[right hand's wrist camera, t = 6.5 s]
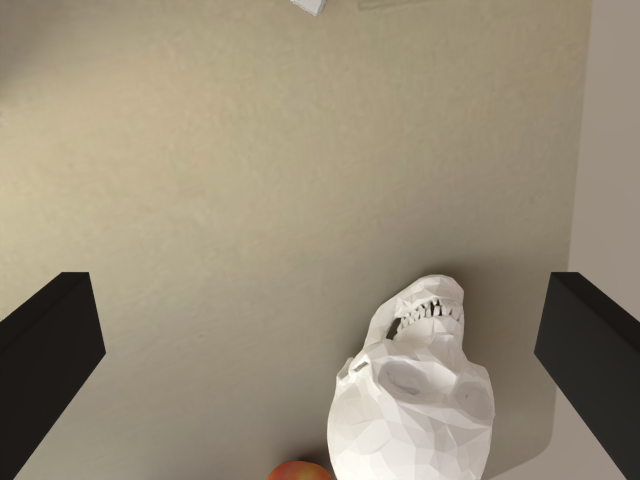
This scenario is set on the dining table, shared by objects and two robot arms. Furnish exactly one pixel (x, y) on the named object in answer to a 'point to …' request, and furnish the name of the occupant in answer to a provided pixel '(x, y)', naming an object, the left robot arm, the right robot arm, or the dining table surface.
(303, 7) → the grey segmented long block
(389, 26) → the dining table surface
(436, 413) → the skull
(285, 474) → the apple
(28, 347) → the right robot arm
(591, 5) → the dining table surface
